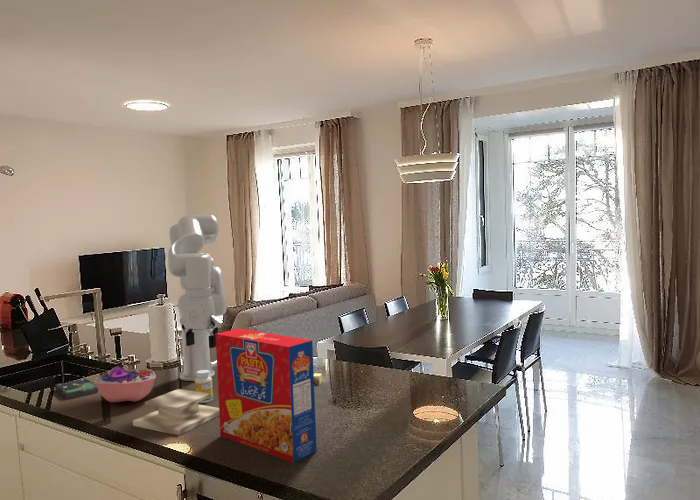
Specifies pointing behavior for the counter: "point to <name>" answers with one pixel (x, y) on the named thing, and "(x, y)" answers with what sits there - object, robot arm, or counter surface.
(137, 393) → the cell model
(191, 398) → the stand
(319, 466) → the counter surface
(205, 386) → the supplement bottle
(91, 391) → the disk drive
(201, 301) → the robot arm
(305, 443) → the pasta box
